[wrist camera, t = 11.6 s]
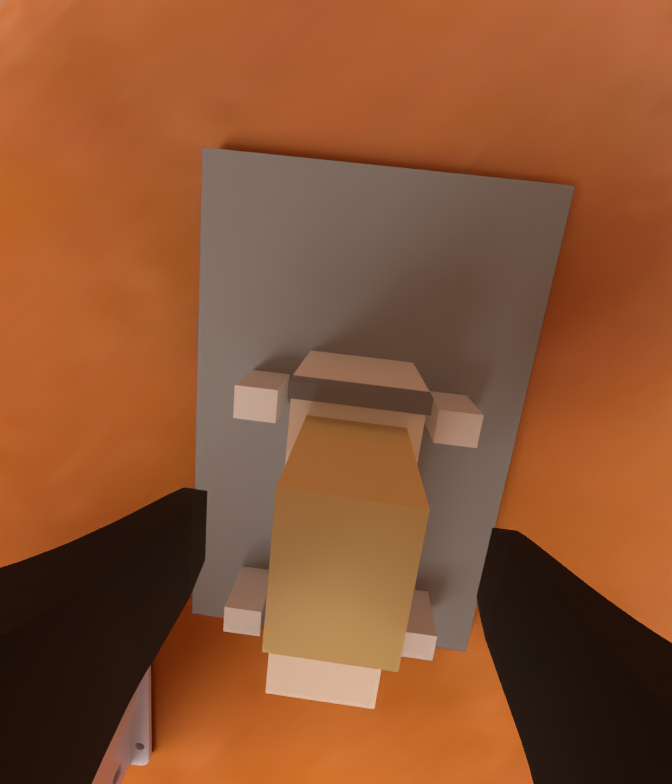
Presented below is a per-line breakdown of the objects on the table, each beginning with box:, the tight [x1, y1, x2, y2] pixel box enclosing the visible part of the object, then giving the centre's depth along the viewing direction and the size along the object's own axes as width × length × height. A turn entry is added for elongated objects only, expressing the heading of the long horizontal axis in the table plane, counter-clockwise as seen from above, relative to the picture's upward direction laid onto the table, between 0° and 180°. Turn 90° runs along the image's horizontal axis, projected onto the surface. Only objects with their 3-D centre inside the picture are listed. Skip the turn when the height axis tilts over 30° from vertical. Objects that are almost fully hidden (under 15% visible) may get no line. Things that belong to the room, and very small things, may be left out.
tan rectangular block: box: [262, 415, 430, 672], centre depth 11 cm, size 4×3×5 cm
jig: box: [192, 147, 575, 661], centre depth 17 cm, size 20×13×4 cm, turn 174°
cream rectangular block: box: [266, 350, 434, 709], centre depth 16 cm, size 12×4×5 cm, turn 174°
